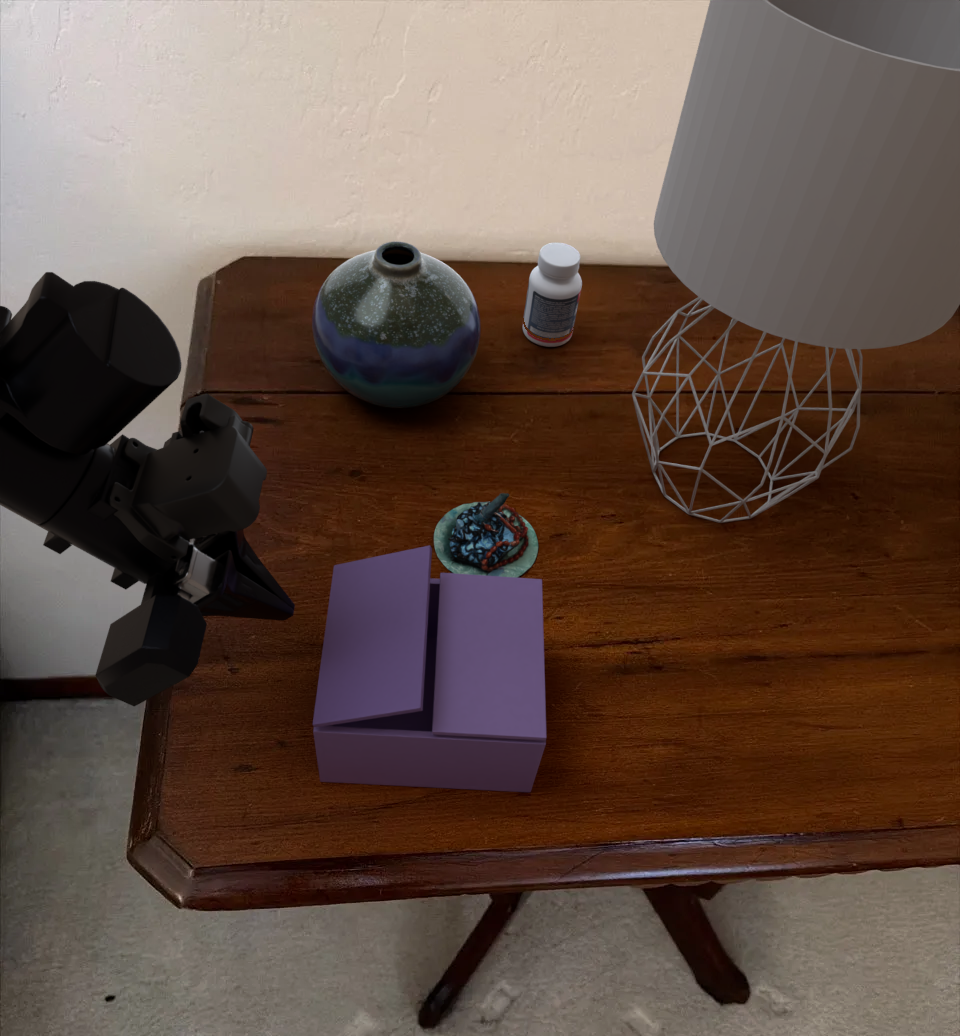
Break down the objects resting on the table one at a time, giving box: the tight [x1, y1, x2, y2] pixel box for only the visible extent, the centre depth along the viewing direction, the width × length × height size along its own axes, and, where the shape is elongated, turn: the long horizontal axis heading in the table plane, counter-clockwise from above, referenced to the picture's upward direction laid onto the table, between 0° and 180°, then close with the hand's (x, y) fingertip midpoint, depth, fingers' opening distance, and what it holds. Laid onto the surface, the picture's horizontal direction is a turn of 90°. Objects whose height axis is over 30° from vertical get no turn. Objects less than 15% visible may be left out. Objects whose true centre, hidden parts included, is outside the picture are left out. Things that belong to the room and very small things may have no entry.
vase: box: [311, 240, 482, 409], centre depth 83 cm, size 15×15×13 cm
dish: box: [433, 492, 539, 578], centre depth 78 cm, size 8×7×8 cm
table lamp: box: [631, 0, 960, 524], centre depth 68 cm, size 22×22×40 cm
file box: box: [312, 572, 547, 793], centre depth 65 cm, size 15×13×8 cm
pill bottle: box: [522, 242, 583, 348], centre depth 91 cm, size 5×5×9 cm
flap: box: [312, 544, 433, 728], centre depth 60 cm, size 7×13×1 cm, turn 0°
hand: (290, 613), depth 59 cm, fingers closed
